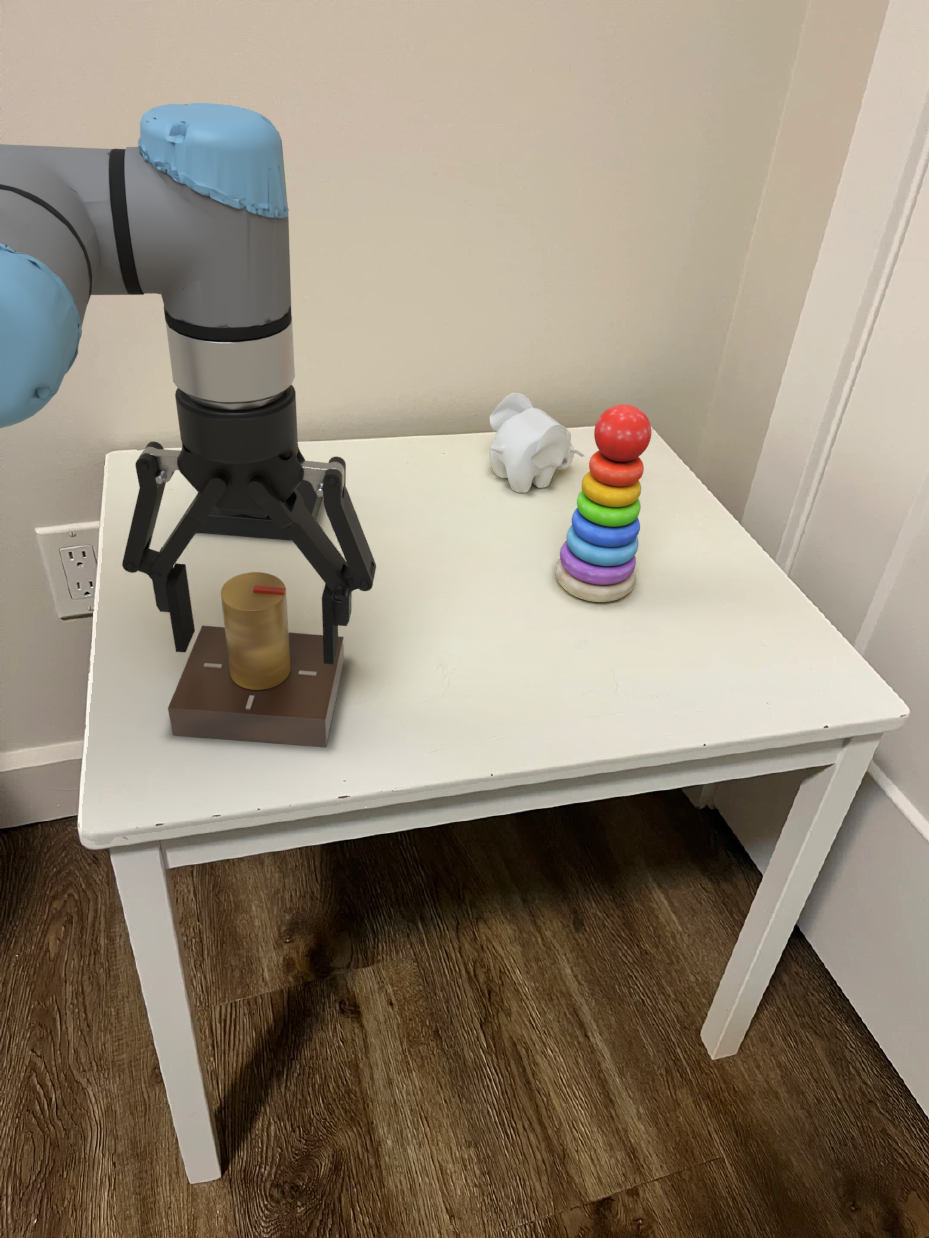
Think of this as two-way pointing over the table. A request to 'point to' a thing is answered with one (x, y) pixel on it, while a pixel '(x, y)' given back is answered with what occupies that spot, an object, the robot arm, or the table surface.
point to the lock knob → (256, 630)
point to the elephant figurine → (528, 444)
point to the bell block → (258, 519)
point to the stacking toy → (607, 511)
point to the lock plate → (257, 695)
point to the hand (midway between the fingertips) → (258, 646)
